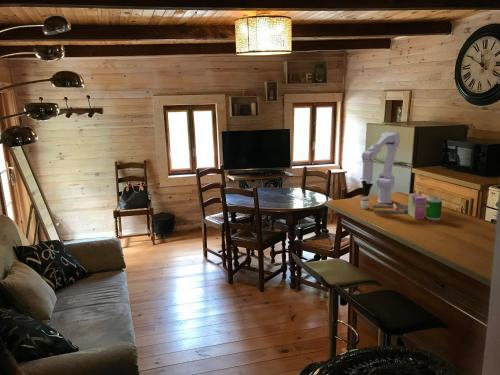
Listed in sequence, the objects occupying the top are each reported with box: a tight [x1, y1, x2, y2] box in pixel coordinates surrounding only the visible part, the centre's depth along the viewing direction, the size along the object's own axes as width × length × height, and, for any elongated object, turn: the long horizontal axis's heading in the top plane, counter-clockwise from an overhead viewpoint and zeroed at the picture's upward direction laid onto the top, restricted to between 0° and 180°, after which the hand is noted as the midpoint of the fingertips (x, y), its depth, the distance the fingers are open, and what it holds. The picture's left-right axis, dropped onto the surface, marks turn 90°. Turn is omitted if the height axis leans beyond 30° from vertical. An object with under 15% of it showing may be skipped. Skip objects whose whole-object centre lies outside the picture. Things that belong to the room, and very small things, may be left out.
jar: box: [360, 197, 370, 210], centre depth 248 cm, size 5×5×6 cm
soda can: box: [425, 196, 443, 222], centre depth 222 cm, size 8×8×12 cm
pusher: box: [392, 203, 398, 211], centre depth 242 cm, size 10×1×2 cm, turn 167°
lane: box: [372, 204, 409, 215], centre depth 243 cm, size 13×18×2 cm
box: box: [407, 193, 427, 220], centre depth 228 cm, size 10×6×12 cm, turn 179°
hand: (365, 193), depth 247 cm, fingers open, 7 cm apart
